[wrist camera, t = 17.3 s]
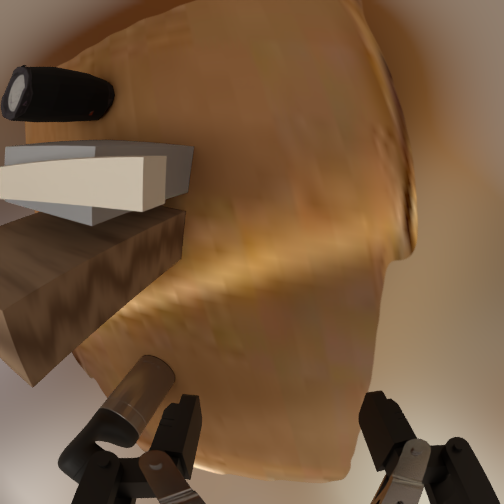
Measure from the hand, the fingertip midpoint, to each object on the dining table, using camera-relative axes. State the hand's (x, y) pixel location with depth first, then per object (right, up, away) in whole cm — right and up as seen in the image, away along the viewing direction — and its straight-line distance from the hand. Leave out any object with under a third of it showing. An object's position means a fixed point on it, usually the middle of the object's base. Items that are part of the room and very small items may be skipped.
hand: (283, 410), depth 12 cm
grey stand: (-19, +22, +30) cm, 41 cm away
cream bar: (-20, +15, +10) cm, 27 cm away
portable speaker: (-29, +35, +28) cm, 53 cm away
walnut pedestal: (-21, +12, +33) cm, 41 cm away
